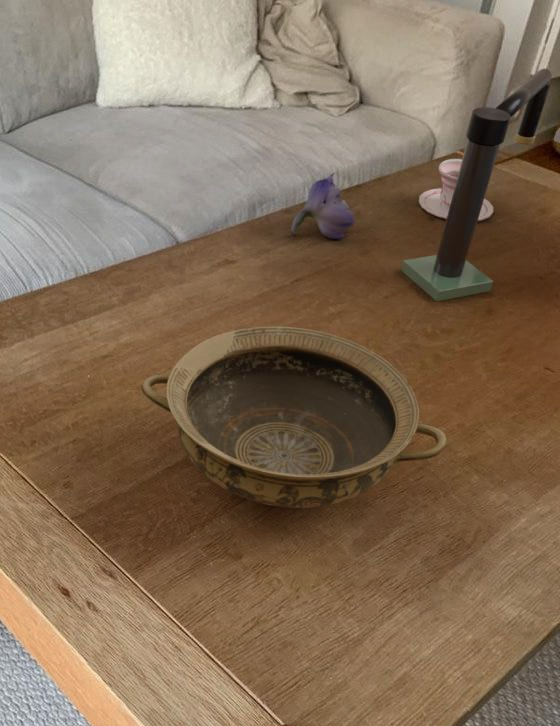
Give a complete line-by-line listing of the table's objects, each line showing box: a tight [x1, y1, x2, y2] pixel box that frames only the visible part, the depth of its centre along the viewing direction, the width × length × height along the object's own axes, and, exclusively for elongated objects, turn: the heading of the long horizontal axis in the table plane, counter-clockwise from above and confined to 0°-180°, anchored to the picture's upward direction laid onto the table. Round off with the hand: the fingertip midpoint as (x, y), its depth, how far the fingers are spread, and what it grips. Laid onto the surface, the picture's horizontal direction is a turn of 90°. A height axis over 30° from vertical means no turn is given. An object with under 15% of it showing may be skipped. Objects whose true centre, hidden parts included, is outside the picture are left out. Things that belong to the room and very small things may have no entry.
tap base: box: [400, 138, 501, 302], centre depth 109 cm, size 9×9×20 cm
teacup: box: [418, 158, 494, 222], centre depth 132 cm, size 12×12×6 cm
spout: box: [465, 68, 553, 146], centre depth 111 cm, size 29×5×11 cm, turn 147°
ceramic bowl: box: [141, 325, 448, 509], centre depth 81 cm, size 30×24×10 cm
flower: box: [290, 172, 355, 241], centre depth 122 cm, size 9×9×10 cm
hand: (557, 132), depth 120 cm, fingers closed
